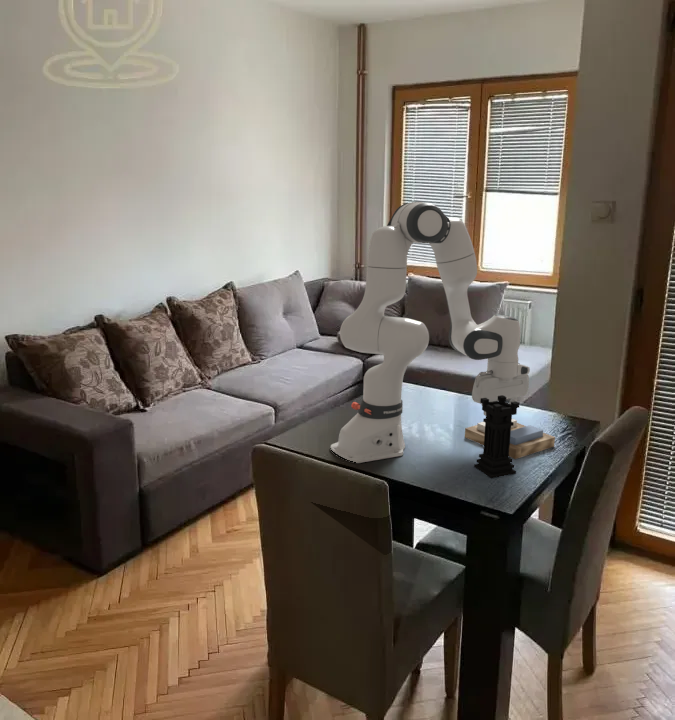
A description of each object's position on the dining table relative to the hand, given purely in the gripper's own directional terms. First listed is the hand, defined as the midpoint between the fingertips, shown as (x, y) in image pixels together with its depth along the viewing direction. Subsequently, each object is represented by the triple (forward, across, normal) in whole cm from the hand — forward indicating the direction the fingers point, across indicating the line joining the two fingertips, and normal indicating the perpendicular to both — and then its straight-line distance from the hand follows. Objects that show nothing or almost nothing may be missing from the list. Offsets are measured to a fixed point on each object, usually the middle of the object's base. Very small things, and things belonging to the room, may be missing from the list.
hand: (498, 413), depth 205 cm
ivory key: (+6, +1, +1) cm, 6 cm away
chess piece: (+9, -17, -16) cm, 25 cm away
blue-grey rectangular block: (+6, +2, -9) cm, 11 cm away
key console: (+8, +1, -4) cm, 9 cm away
